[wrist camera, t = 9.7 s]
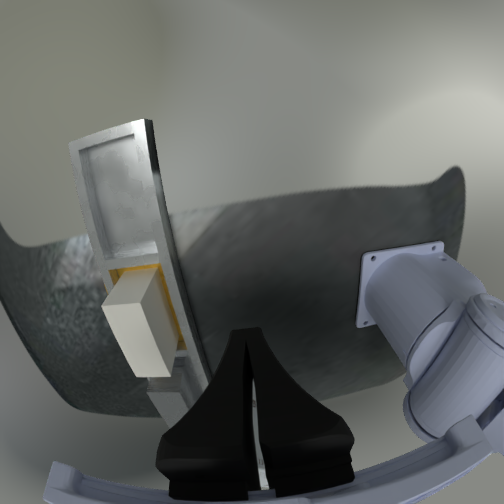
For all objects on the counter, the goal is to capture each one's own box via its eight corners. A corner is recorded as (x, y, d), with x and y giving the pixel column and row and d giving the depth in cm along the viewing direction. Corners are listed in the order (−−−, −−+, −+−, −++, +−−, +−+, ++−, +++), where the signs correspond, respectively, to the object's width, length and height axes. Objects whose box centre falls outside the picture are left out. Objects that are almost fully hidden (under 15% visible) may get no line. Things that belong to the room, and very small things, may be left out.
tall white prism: (157, 267, 21) (140, 302, 16) (179, 335, 24) (170, 376, 19) (124, 271, 21) (101, 305, 16) (149, 337, 23) (136, 377, 19)
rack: (152, 120, 17) (123, 115, 12) (218, 397, 28) (218, 437, 23) (80, 141, 17) (37, 147, 12) (168, 399, 28) (162, 437, 23)
